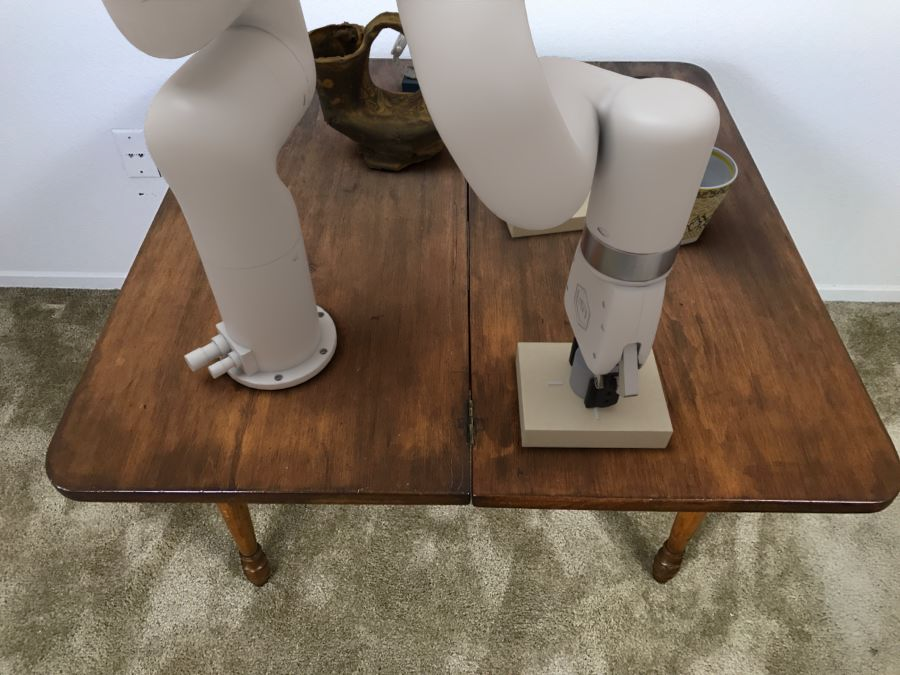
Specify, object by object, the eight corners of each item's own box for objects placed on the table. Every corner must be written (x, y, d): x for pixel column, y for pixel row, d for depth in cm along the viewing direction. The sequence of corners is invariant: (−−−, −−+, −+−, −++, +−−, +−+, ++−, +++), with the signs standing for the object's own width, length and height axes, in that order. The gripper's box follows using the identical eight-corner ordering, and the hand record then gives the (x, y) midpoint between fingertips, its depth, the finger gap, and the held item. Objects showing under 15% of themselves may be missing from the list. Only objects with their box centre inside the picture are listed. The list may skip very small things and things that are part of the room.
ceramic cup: (704, 263, 84) (730, 197, 76) (625, 241, 87) (643, 174, 79) (723, 205, 92) (747, 140, 84) (650, 186, 94) (668, 121, 87)
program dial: (603, 408, 65) (611, 381, 62) (561, 389, 67) (567, 361, 64) (620, 378, 68) (629, 350, 65) (580, 360, 69) (587, 332, 66)
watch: (396, 83, 113) (392, 16, 105) (444, 86, 113) (444, 19, 104) (390, 100, 109) (386, 32, 101) (439, 103, 109) (439, 35, 101)
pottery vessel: (486, 137, 102) (493, 1, 88) (483, 179, 95) (491, 39, 80) (322, 129, 103) (302, -6, 89) (307, 171, 96) (283, 30, 81)
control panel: (522, 447, 66) (524, 428, 63) (515, 360, 73) (517, 340, 71) (665, 448, 66) (674, 430, 64) (644, 361, 73) (651, 342, 71)
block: (512, 238, 87) (514, 212, 84) (494, 191, 93) (496, 166, 90) (601, 227, 88) (606, 202, 85) (577, 182, 95) (582, 158, 92)
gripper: (555, 182, 59) (534, 325, 72) (618, 323, 48) (579, 461, 61) (638, 175, 60) (602, 317, 73) (719, 311, 48) (658, 450, 62)
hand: (592, 381), depth 67 cm, fingers closed on program dial, 4 cm apart
